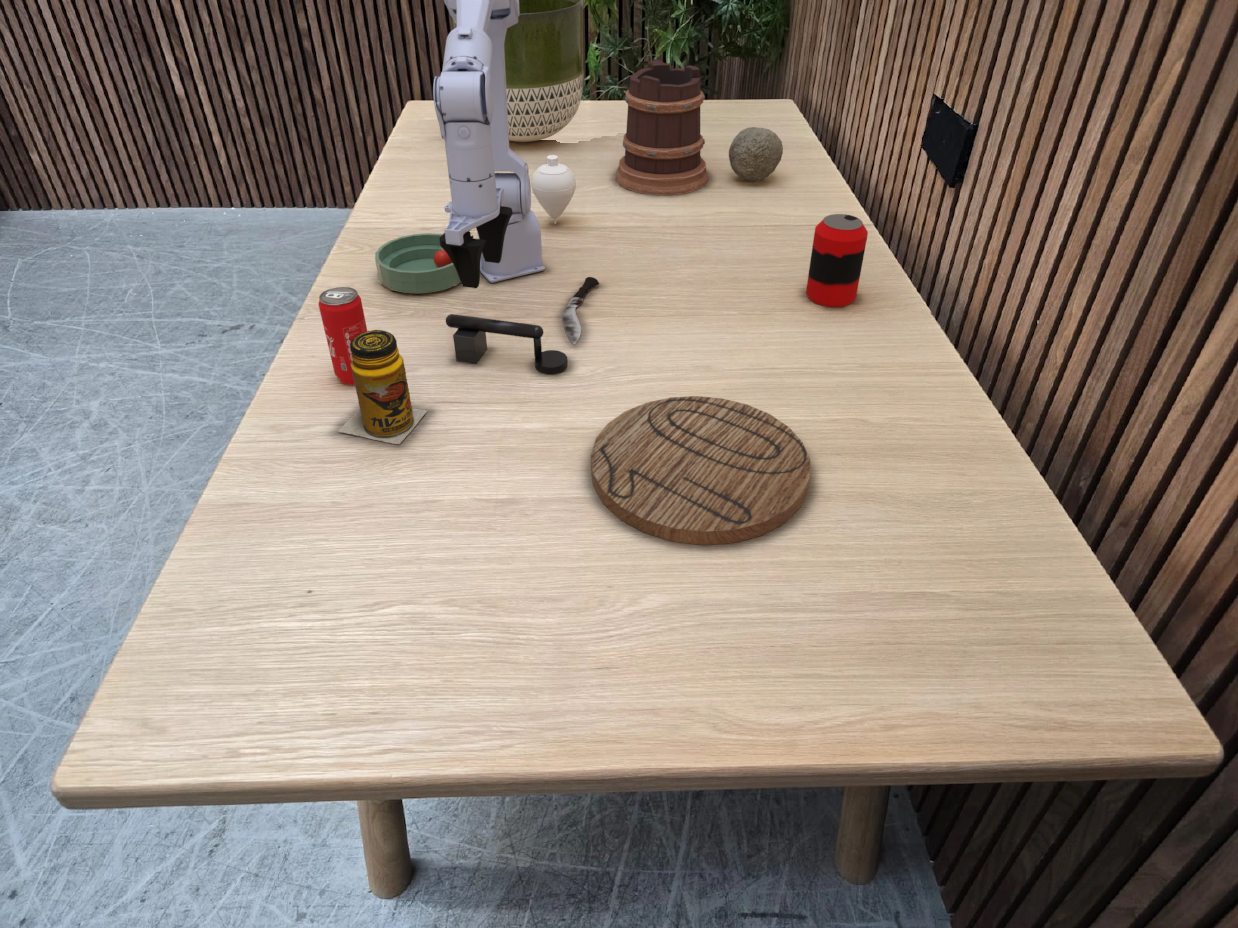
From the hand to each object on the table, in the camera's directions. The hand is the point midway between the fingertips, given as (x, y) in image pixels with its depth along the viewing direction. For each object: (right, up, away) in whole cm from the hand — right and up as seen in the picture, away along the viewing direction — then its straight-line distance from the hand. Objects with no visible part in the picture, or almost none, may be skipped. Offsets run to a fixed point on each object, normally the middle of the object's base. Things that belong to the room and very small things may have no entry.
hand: (482, 273), depth 119 cm
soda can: (+51, 0, +17) cm, 54 cm away
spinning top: (+7, +17, +38) cm, 43 cm away
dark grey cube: (-2, -11, +3) cm, 11 cm away
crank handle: (+3, -11, +2) cm, 12 cm away
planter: (-2, +46, +76) cm, 89 cm away
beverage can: (-17, -14, -1) cm, 22 cm away
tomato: (-10, +7, +23) cm, 25 cm away
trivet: (+28, -26, -16) cm, 42 cm away
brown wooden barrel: (+27, +32, +58) cm, 71 cm away
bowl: (-13, +5, +23) cm, 26 cm away
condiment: (-11, -21, -9) cm, 25 cm away
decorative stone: (+45, +30, +55) cm, 77 cm away
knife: (+13, -3, +13) cm, 18 cm away
